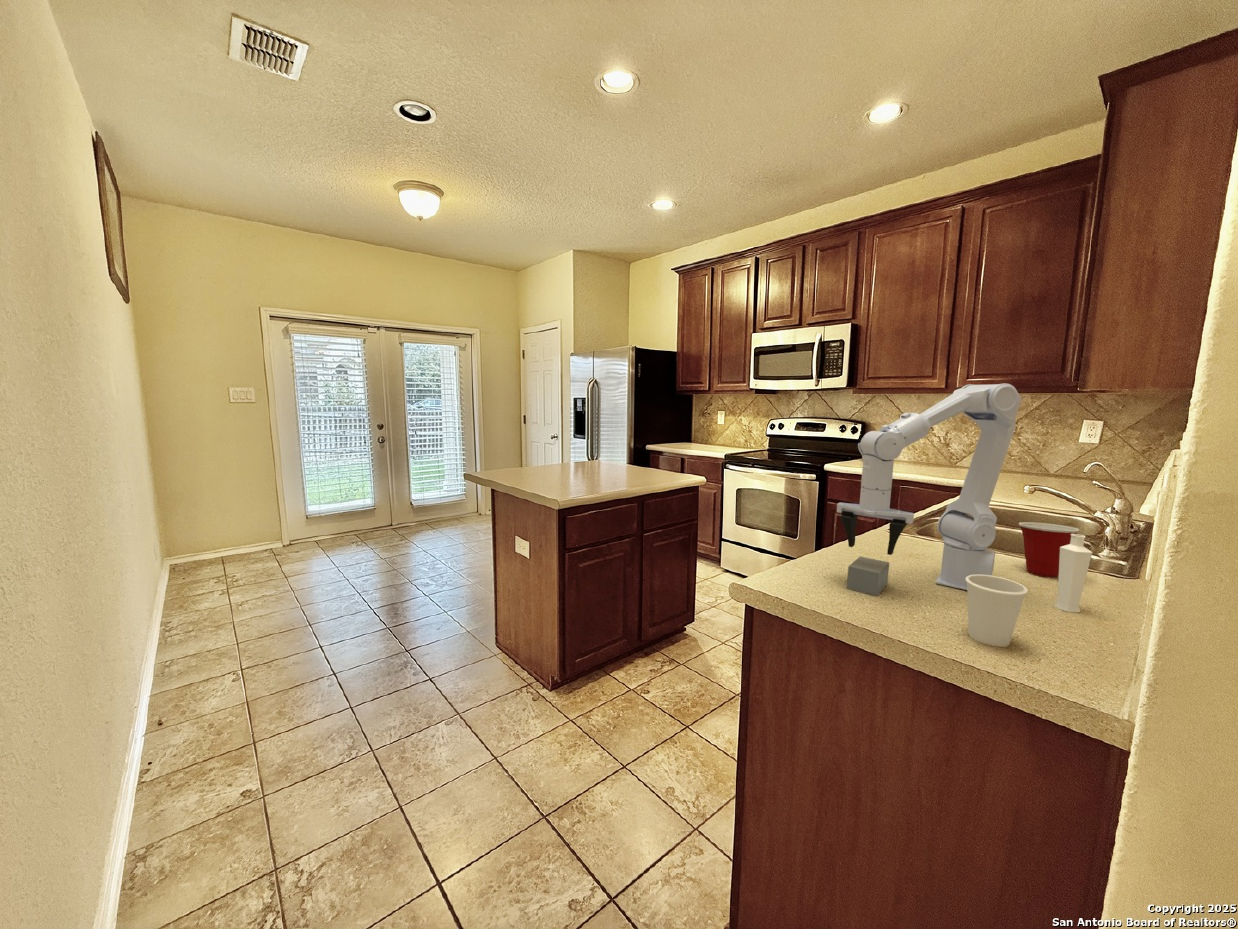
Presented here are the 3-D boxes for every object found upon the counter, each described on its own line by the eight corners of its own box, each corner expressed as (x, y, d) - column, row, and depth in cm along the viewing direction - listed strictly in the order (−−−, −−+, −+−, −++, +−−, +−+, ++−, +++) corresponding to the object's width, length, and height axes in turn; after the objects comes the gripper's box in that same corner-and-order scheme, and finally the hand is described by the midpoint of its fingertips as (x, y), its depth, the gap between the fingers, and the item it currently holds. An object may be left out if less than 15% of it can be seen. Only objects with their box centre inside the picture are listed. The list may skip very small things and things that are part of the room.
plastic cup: (1048, 566, 121) (1055, 519, 119) (1085, 583, 110) (1093, 531, 109) (1001, 564, 122) (1007, 518, 120) (1033, 580, 111) (1040, 529, 110)
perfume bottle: (1077, 615, 93) (1089, 540, 91) (1048, 606, 97) (1059, 534, 95) (1087, 611, 95) (1099, 537, 93) (1059, 602, 99) (1070, 531, 97)
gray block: (887, 584, 108) (889, 562, 107) (877, 596, 101) (879, 573, 100) (858, 577, 112) (860, 556, 111) (846, 588, 105) (848, 566, 104)
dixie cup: (1033, 648, 81) (1041, 590, 79) (991, 653, 79) (999, 594, 77) (985, 625, 89) (992, 572, 87) (947, 629, 87) (953, 575, 86)
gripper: (834, 485, 105) (829, 546, 107) (911, 495, 95) (904, 562, 97) (844, 481, 110) (839, 540, 112) (918, 490, 101) (911, 553, 103)
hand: (870, 549), depth 105 cm, fingers open, 7 cm apart
